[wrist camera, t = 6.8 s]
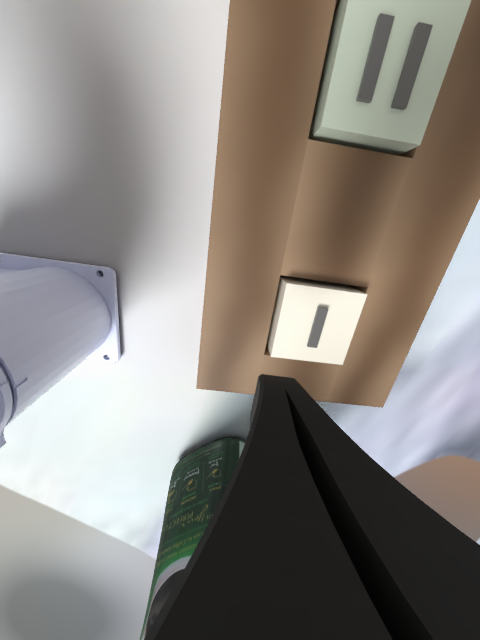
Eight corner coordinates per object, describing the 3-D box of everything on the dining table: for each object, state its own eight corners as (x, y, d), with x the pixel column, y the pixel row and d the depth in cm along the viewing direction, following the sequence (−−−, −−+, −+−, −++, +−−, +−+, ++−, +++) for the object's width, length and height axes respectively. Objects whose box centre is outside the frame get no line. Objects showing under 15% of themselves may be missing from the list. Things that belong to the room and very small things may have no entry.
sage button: (300, 151, 13) (322, 124, 10) (323, 39, 12) (357, -37, 8) (378, 164, 14) (423, 143, 10) (410, 58, 12) (477, -8, 9)
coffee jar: (206, 500, 27) (153, 992, 9) (163, 461, 24) (-16, 1032, 7) (277, 468, 25) (373, 999, 8) (239, 422, 22) (252, 1055, 5)
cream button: (264, 334, 18) (271, 358, 14) (276, 273, 16) (287, 284, 13) (324, 342, 18) (343, 366, 15) (342, 282, 16) (369, 295, 13)
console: (203, 359, 20) (196, 388, 16) (243, -57, 11) (247, -201, 7) (356, 376, 21) (382, 407, 17) (499, 4, 12) (615, -95, 8)
